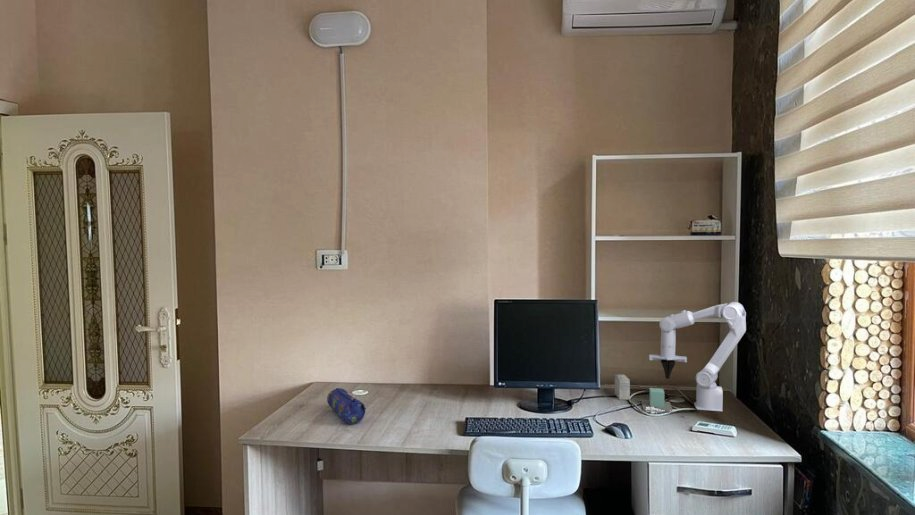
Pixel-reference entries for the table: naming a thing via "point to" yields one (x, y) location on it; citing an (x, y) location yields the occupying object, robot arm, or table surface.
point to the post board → (666, 407)
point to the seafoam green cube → (656, 397)
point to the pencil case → (346, 406)
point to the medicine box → (622, 387)
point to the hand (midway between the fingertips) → (667, 378)
